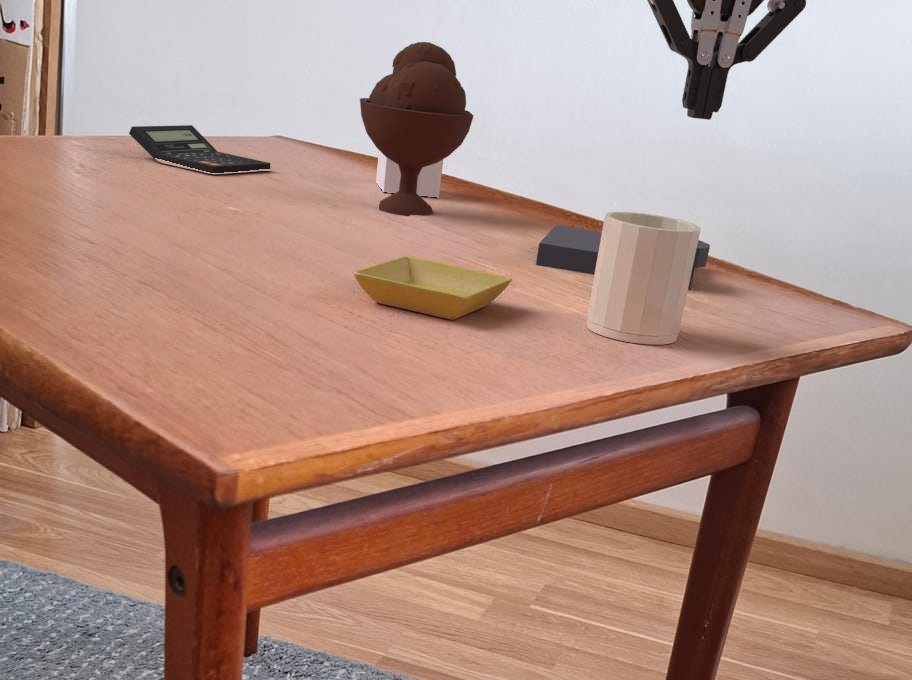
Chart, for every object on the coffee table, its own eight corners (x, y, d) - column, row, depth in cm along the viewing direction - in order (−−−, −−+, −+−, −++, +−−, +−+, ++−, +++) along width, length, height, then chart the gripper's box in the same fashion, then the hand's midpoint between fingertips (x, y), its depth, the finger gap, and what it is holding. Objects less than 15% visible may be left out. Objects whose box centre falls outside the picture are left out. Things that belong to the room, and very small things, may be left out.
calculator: (212, 175, 127) (213, 144, 125) (128, 156, 132) (128, 125, 130) (270, 171, 134) (271, 141, 133) (188, 153, 139) (189, 124, 138)
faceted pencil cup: (678, 330, 89) (701, 222, 85) (675, 350, 83) (699, 235, 80) (590, 315, 90) (609, 207, 86) (581, 334, 84) (601, 220, 81)
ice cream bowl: (334, 197, 123) (347, 31, 117) (436, 203, 128) (454, 43, 121) (371, 218, 115) (387, 40, 108) (479, 224, 119) (501, 53, 113)
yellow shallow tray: (462, 327, 82) (466, 296, 81) (347, 301, 85) (350, 270, 84) (510, 307, 89) (515, 278, 88) (403, 283, 92) (406, 254, 91)
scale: (703, 270, 112) (711, 230, 110) (699, 295, 101) (709, 251, 100) (552, 245, 114) (558, 206, 112) (533, 267, 103) (540, 224, 102)
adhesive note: (439, 198, 131) (446, 138, 129) (383, 193, 130) (389, 132, 127) (429, 189, 137) (435, 130, 134) (375, 183, 135) (381, 124, 132)
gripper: (674, -157, 86) (628, 112, 94) (855, -130, 88) (794, 132, 96) (649, -146, 93) (607, 104, 101) (817, -121, 94) (763, 123, 102)
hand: (699, 117), depth 98 cm, fingers closed
